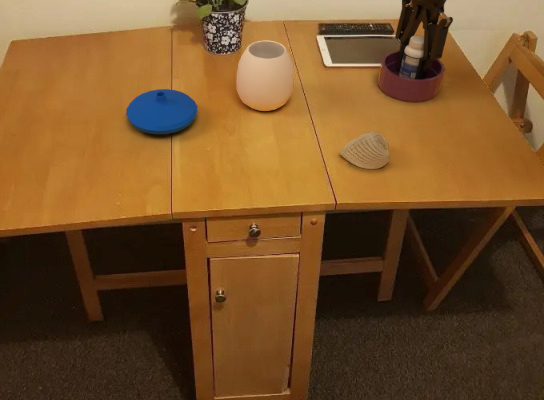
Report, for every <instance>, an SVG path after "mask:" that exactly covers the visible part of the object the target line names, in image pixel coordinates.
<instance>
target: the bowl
mask: <svg viewBox="0 0 544 400" xmlns="http://www.w3.org/2000/svg"><path fill="white" fill-rule="evenodd" d="M399 50H400V49H397V50H393V51H390V52H388V53H386V54H384V56H383V57H382V59H381V62H380V65H379V66H380V67H379V71H378V76H377V84H378V87H379V89H380V91H381V92H382V93H383V94H384V95H385V96H387V97H389V98H391V99H394V100H396V101H400V102H405V103H422V102H423V103H424V102H428V101H429V100H432V99H433V98H435V97H436V96H437V95H438V94H439V91H440V88H441V85H442V81H443V79H444V75H445V71H446V67H445V64H444V63H443V62H442V61H441V60H440V59H436V60H433V61H432V65H431V68H430V70H429V71H427V75H426V79H422V80H419V79H409V78H405V77H401V76H400V75H399V73H400V72H398V71H397V67H398V62H399V58H400V56H399Z"/></svg>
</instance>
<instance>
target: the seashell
mask: <svg viewBox="0 0 544 400" xmlns="http://www.w3.org/2000/svg"><path fill="white" fill-rule="evenodd" d="M388 148H389V142H388V141H387V139H386V138H385V136H383V135H382V134H381V133H380V132H377V131H370V132H369V131H368V132H365V133H363V134H361V135H359V136H357V137H355V138H353V139H350V141H349V142H348V143H346V144H345V145H344V147H343V148H341V151H340V152H339V154H340V156H342V157H343V158H344V159H345V160H346V161H348V162H349V163H351V164H352V165H354V166H356V167H358V168H362V169H366V170H377V169H380V168H383V167H385V166H386V165H387V164H388V163H389V162H390V158H391V154H390V152H389V150H388Z"/></svg>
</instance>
